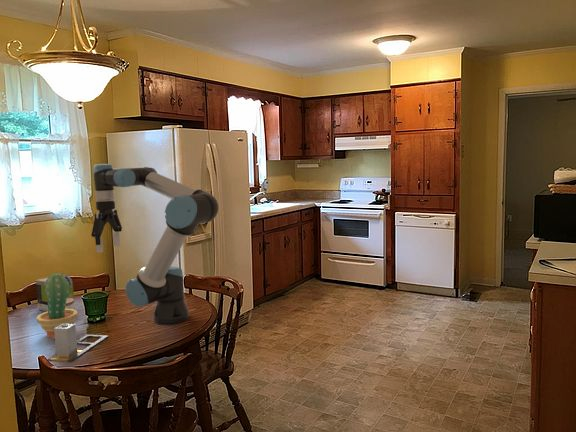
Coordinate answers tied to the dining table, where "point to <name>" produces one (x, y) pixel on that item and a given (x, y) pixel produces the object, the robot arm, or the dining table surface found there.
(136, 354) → the dining table surface
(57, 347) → the grey rectangular block
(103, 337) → the grey flat rectangular frame
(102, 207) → the robot arm
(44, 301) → the tea box
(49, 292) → the potted cactus
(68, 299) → the lidded jar
